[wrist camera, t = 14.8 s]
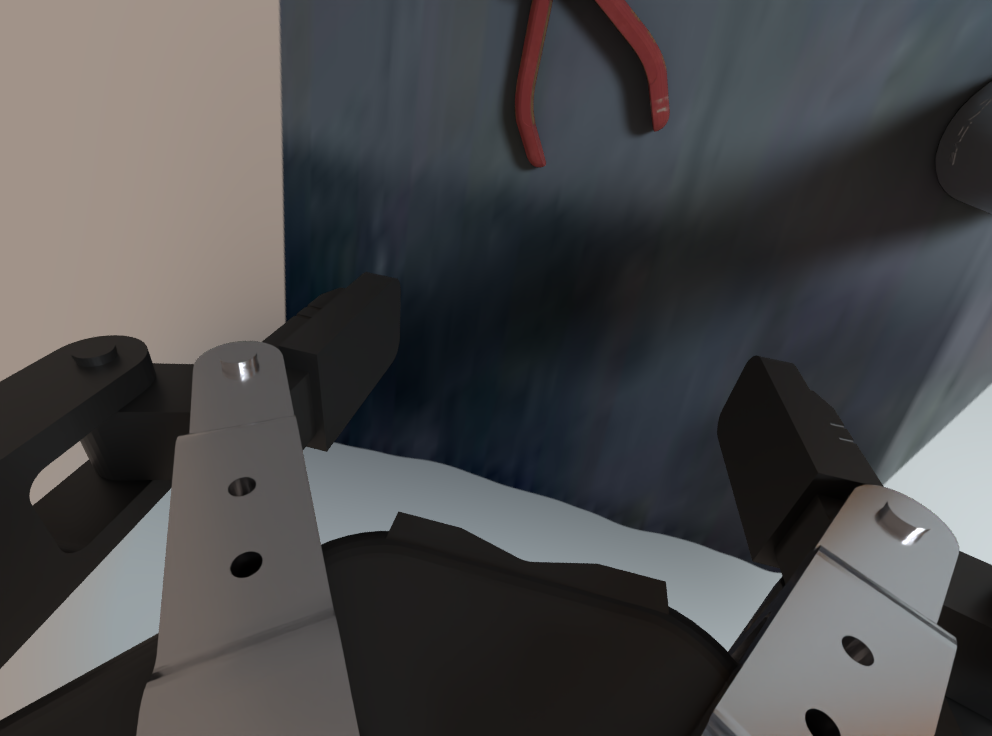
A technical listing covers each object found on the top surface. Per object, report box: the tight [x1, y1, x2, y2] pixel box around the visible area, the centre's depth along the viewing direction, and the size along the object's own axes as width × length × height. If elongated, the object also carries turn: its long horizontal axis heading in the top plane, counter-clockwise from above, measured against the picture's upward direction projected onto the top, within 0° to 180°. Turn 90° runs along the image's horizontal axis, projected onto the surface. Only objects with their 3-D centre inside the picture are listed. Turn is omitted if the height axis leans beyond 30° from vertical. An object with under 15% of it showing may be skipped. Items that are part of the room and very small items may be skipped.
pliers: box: [515, 0, 670, 167], centre depth 33 cm, size 12×20×3 cm, turn 18°
